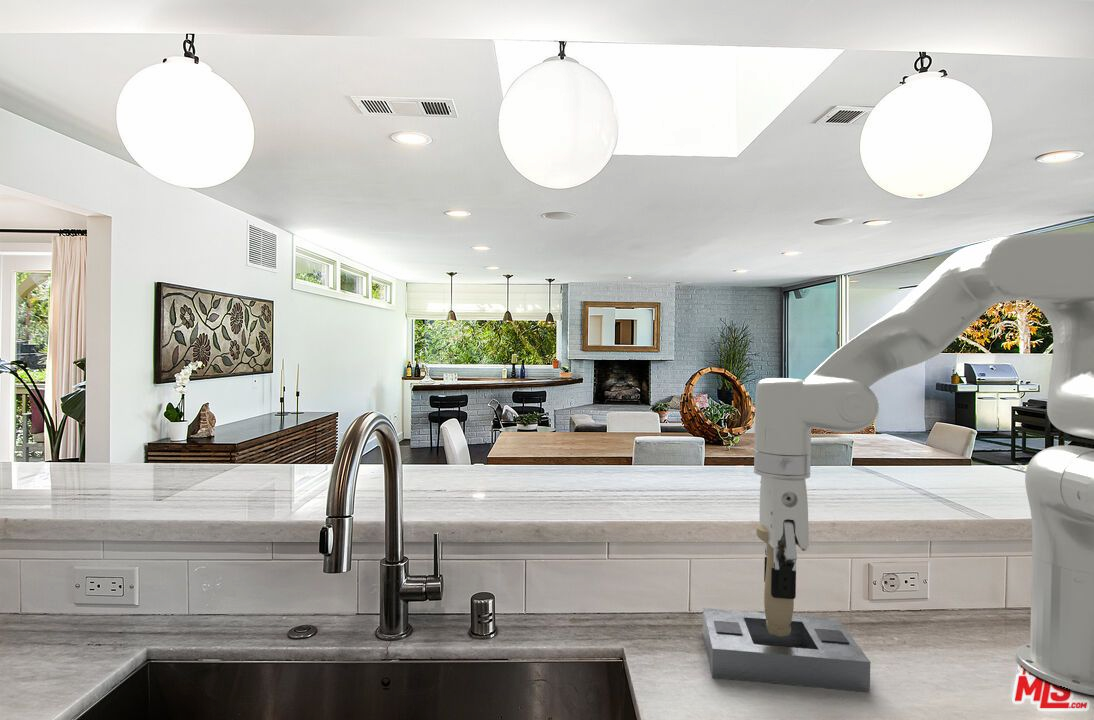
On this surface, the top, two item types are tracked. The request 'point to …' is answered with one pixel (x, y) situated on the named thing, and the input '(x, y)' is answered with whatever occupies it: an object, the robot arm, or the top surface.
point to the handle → (775, 608)
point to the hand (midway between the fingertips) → (779, 589)
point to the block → (784, 651)
